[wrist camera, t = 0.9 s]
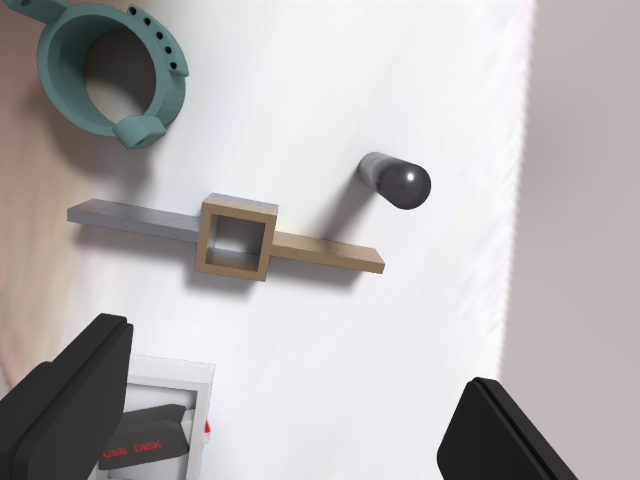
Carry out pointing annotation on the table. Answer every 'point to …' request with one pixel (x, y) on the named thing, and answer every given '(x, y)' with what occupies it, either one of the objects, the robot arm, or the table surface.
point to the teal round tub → (68, 58)
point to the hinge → (205, 236)
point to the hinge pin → (395, 180)
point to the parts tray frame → (179, 377)
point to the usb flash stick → (151, 436)
